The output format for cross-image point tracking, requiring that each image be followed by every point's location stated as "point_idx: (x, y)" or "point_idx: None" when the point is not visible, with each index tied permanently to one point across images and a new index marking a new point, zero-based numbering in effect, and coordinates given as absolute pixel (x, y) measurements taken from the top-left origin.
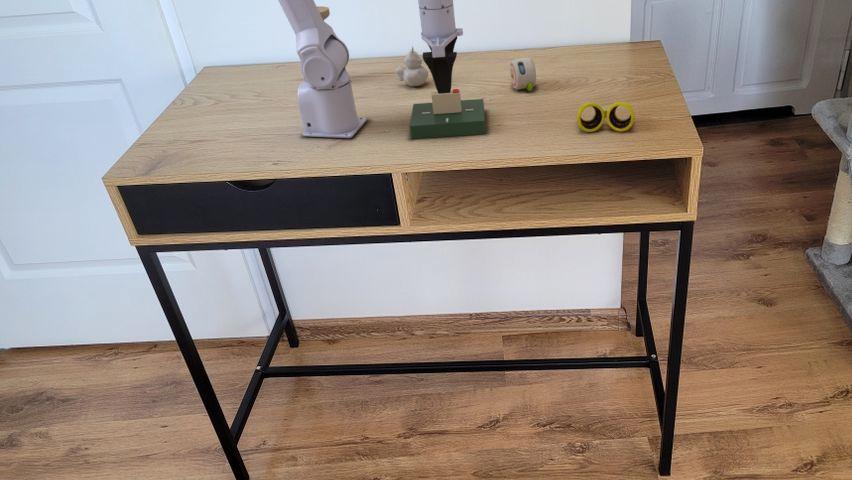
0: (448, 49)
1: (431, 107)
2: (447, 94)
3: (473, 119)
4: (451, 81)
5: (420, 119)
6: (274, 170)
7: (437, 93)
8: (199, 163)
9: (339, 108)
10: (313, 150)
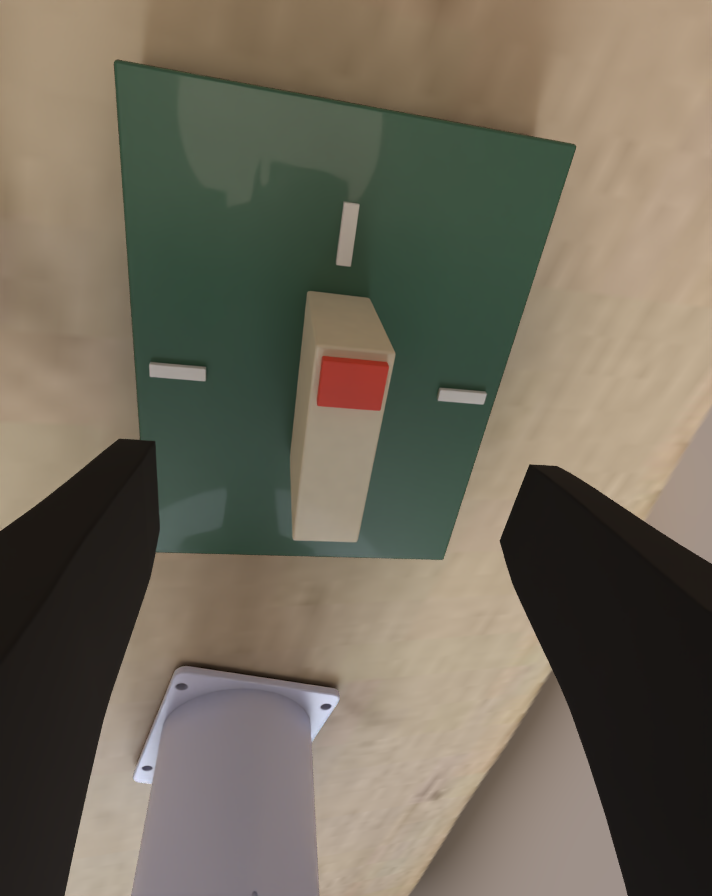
0: (34, 703)
1: (227, 468)
2: (376, 443)
3: (522, 228)
4: (634, 515)
5: (384, 520)
6: (472, 791)
7: (340, 508)
8: (363, 888)
9: (310, 818)
10: (385, 749)
